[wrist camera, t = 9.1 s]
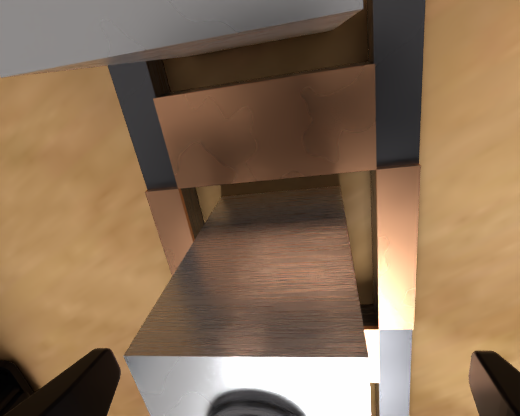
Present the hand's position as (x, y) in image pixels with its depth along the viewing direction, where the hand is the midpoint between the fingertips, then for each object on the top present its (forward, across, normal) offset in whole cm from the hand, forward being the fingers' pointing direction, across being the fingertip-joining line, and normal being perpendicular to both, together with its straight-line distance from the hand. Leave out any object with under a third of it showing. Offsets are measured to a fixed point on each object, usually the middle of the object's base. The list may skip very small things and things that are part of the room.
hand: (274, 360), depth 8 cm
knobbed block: (+6, 0, 0) cm, 6 cm away
